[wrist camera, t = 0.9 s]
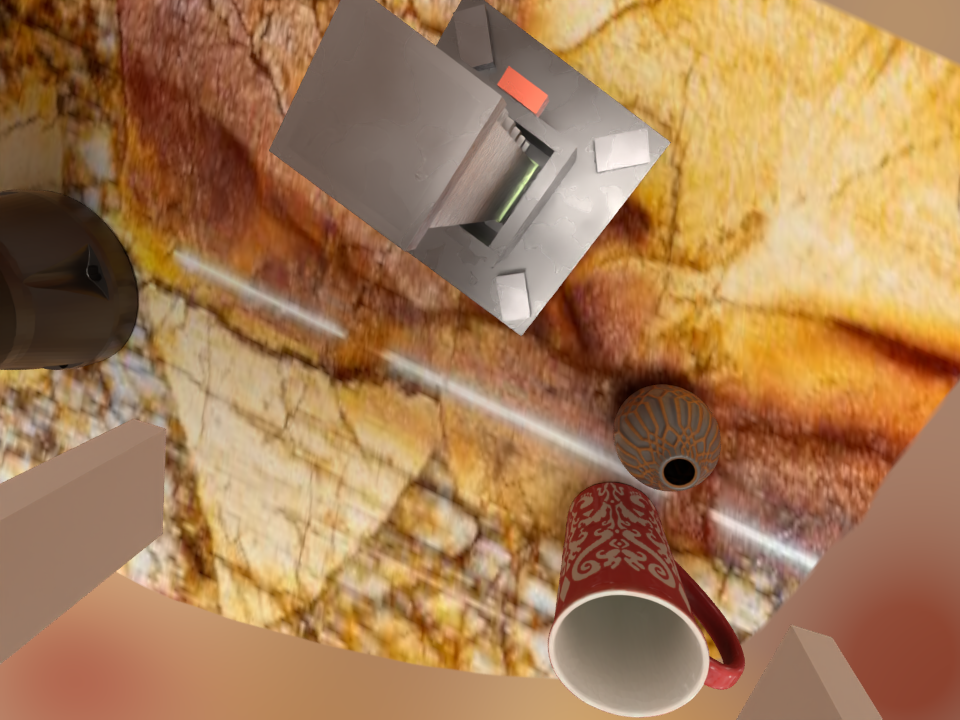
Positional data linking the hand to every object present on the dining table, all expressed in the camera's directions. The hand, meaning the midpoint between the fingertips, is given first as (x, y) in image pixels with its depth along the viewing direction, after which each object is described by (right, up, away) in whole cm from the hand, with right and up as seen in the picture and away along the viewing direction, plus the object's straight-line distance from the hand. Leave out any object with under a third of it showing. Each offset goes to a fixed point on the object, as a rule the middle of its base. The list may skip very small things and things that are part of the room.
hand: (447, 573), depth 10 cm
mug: (+13, -10, +31) cm, 35 cm away
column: (+2, +17, +24) cm, 29 cm away
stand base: (+2, +17, +25) cm, 30 cm away
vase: (+14, 0, +28) cm, 31 cm away
